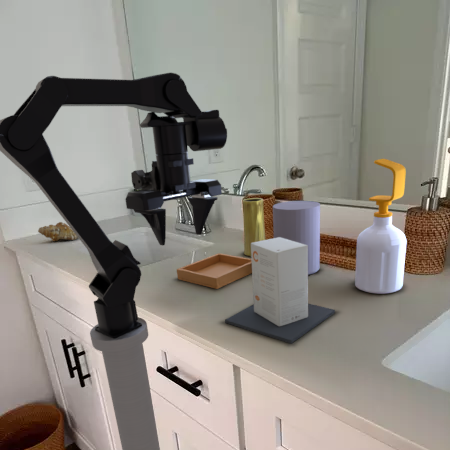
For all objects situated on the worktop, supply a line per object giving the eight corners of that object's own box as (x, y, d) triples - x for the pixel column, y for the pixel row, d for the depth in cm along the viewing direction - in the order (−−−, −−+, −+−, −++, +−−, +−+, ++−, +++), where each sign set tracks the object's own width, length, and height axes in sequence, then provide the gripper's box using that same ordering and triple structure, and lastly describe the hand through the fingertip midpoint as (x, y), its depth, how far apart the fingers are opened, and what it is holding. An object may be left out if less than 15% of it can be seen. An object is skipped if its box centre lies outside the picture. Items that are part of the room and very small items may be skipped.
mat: (291, 343, 67) (291, 340, 67) (224, 322, 76) (224, 319, 76) (334, 312, 77) (335, 309, 76) (271, 297, 86) (271, 294, 85)
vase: (260, 257, 111) (257, 202, 106) (239, 255, 114) (236, 201, 109) (270, 251, 116) (268, 197, 110) (250, 249, 119) (248, 197, 114)
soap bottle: (368, 276, 93) (375, 157, 83) (410, 284, 86) (422, 156, 77) (346, 288, 87) (351, 162, 78) (389, 298, 81) (399, 162, 72)
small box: (309, 317, 74) (309, 244, 69) (278, 327, 71) (276, 252, 66) (281, 303, 81) (279, 235, 76) (253, 312, 78) (249, 242, 73)
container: (297, 260, 107) (296, 199, 101) (328, 269, 99) (330, 203, 93) (265, 269, 101) (263, 206, 96) (296, 280, 94) (295, 211, 88)
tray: (217, 289, 92) (216, 278, 91) (177, 279, 100) (176, 269, 99) (258, 270, 102) (258, 260, 101) (219, 262, 110) (218, 253, 109)
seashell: (63, 252, 143) (41, 229, 138) (55, 252, 150) (34, 230, 145) (82, 235, 147) (62, 211, 142) (74, 235, 153) (54, 213, 148)
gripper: (181, 150, 87) (189, 225, 93) (101, 159, 75) (116, 245, 81) (220, 149, 80) (226, 231, 86) (139, 158, 68) (151, 253, 74)
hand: (181, 239), depth 82 cm, fingers open, 9 cm apart
